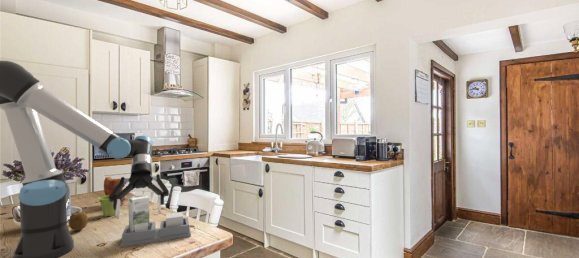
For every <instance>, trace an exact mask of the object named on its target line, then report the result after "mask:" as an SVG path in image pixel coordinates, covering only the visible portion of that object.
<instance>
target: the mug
mask: <svg viewBox="0 0 579 258" xmlns="http://www.w3.org/2000/svg"><path fill="white" fill-rule="evenodd" d="M120 180H121V178H112V177H111V176H107V177H105V178H104V180H103V191H104V194H105V195H104V196H107V195H110V194H111V193H112V192H113V190H114V189H115V188H116V186H117V185H118V184H119V182H120ZM125 185H126V184H125ZM125 185H124V187H126V186H125ZM124 187H123V188H122V190H123V189H124ZM122 190H121V191H122ZM121 191H120V192H121ZM120 192H119V193H120ZM125 200H126V197H125V196H124V197H123V198H122V199H121V200H120V202H121V205H120V207H121V206H123V204H124V202H125Z"/></svg>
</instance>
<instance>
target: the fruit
mask: <svg viewBox="0 0 579 258" xmlns="http://www.w3.org/2000/svg"><path fill="white" fill-rule="evenodd" d="M88 220H89V218H88V215H87V213H86V212H85V211H81V210H77V211H76V212H74V213H71V216H70V219H69V221H68V225H69V227H70V229H71V230H73V231H76V232H80V231H81V230H83V229H85V228H86V226H87V224H88Z"/></svg>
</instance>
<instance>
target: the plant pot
mask: <svg viewBox="0 0 579 258" xmlns="http://www.w3.org/2000/svg"><path fill="white" fill-rule="evenodd" d="M108 197H109V195H107V196H106V195H103V196H100V197H98V198H97V199H98V200H99V204H100V207H101V211H102V215H103V217H106V218H107V217H113V216H115V214H116V210H114V208H113V204H114V202H110V201H109V198H108Z"/></svg>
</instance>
